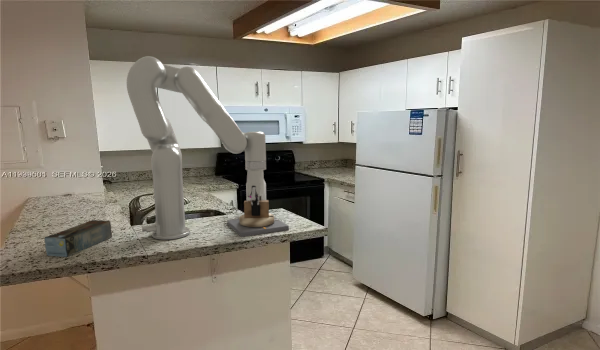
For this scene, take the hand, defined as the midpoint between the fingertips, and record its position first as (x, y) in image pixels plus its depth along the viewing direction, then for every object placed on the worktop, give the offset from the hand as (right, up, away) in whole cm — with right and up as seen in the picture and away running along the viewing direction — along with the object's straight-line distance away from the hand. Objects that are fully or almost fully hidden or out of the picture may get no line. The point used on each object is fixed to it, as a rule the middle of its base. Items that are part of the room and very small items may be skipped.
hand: (257, 213), depth 134 cm
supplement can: (-2, -3, +18) cm, 19 cm away
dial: (0, -3, 0) cm, 3 cm away
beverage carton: (-54, -9, -19) cm, 58 cm away
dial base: (0, -5, +1) cm, 5 cm away
